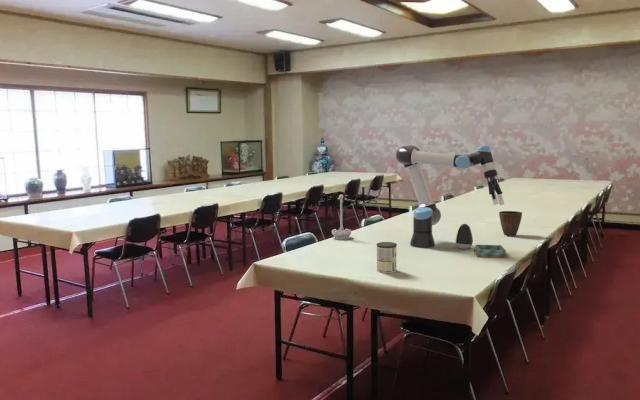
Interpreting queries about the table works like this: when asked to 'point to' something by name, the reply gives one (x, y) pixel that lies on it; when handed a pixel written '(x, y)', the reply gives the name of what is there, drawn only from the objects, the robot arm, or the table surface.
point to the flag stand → (341, 226)
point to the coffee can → (386, 257)
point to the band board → (490, 251)
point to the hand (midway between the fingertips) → (499, 204)
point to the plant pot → (510, 222)
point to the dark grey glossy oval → (464, 237)
